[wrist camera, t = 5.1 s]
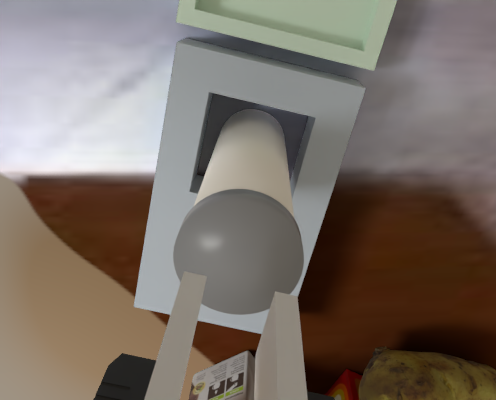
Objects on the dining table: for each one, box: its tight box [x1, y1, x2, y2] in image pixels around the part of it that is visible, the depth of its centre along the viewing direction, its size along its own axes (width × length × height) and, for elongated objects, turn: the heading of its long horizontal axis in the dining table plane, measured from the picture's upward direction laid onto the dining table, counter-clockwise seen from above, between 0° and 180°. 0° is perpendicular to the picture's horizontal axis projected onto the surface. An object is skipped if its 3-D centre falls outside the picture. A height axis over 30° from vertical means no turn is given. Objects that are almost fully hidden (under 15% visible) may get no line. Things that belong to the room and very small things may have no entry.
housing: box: [134, 38, 366, 334], centre depth 34 cm, size 12×20×4 cm, turn 167°
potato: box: [359, 347, 496, 400], centre depth 38 cm, size 8×13×8 cm, turn 54°
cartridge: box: [173, 109, 304, 315], centre depth 27 cm, size 5×5×17 cm
